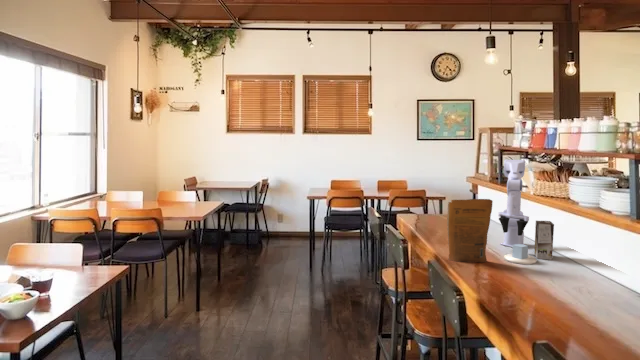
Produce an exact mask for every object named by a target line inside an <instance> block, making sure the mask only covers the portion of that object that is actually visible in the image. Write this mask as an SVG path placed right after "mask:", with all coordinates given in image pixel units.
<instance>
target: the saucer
mask: <svg viewBox="0 0 640 360" xmlns="http://www.w3.org/2000/svg"><path fill="white" fill-rule="evenodd" d="M503 259H504V261H506V262H507V263H511V264H512V263H513V264H518V265H535V264H537V258H536V256H535V257H534V256H532V255H529V254H528V258H526V259H518V258H514V257H512V253H507V254H504V256H503Z"/></svg>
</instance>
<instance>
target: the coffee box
mask: <svg viewBox="0 0 640 360" xmlns="http://www.w3.org/2000/svg"><path fill="white" fill-rule="evenodd" d="M534 227H535V229H534V231H535V232H534V251H533V252H534V256H535V258H536V259H538V260H539V259H540V260H548V261H549V260H550V261H552V260H553V250H554V249H553V247H554V246H553V245H554V231H555V229H554V228H555V224H554V222H552V221H550V220H535V226H534Z"/></svg>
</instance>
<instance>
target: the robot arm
mask: <svg viewBox="0 0 640 360" xmlns="http://www.w3.org/2000/svg"><path fill="white" fill-rule="evenodd" d="M503 164H504V165H503V174H504V177H505V178H507V182H506V193H507V194H506V195H507V197H506V198H507V200H506V202H507V203H506V209H504V210H503V211H500V212H498V221H499V222H500V225H501V228H502V231H503V242H500V245H502V246H506V247H510V248H512V247H513V245H515V244H522V245H526V244H525V243H524V241H525V240H524V239H525V237H524V236H525V232H524V230H525V227H526V226H527V224H528V223H529V221H530V216H528V215H524V213H523V211H521V206H522V205H521V203H522V201H521V198H522V192H523V185H524V184H523V180H522V178H523V177H525V176H524V175H525V171H526V160H525V159H504V162H503Z"/></svg>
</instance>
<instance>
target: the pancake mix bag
mask: <svg viewBox="0 0 640 360" xmlns="http://www.w3.org/2000/svg"><path fill="white" fill-rule="evenodd" d="M493 201H494V200H492V199H490V198H469V199H451V200H450V201H448V203H447V217H446V218H447V219H446V224H447V228H446V229H447V238H448V240H447V241H448V244H447V245H448V252H449V254H448V260H449V261H451V260H452V261H453V262H456V263H458V262H459V263H462V262H463V263H485V262H487V261H488V260H487V255H486V253H487V251H486V250H487V244H488V232H489V228H490V225H491V216H492V209H493V203H494V202H493Z"/></svg>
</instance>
